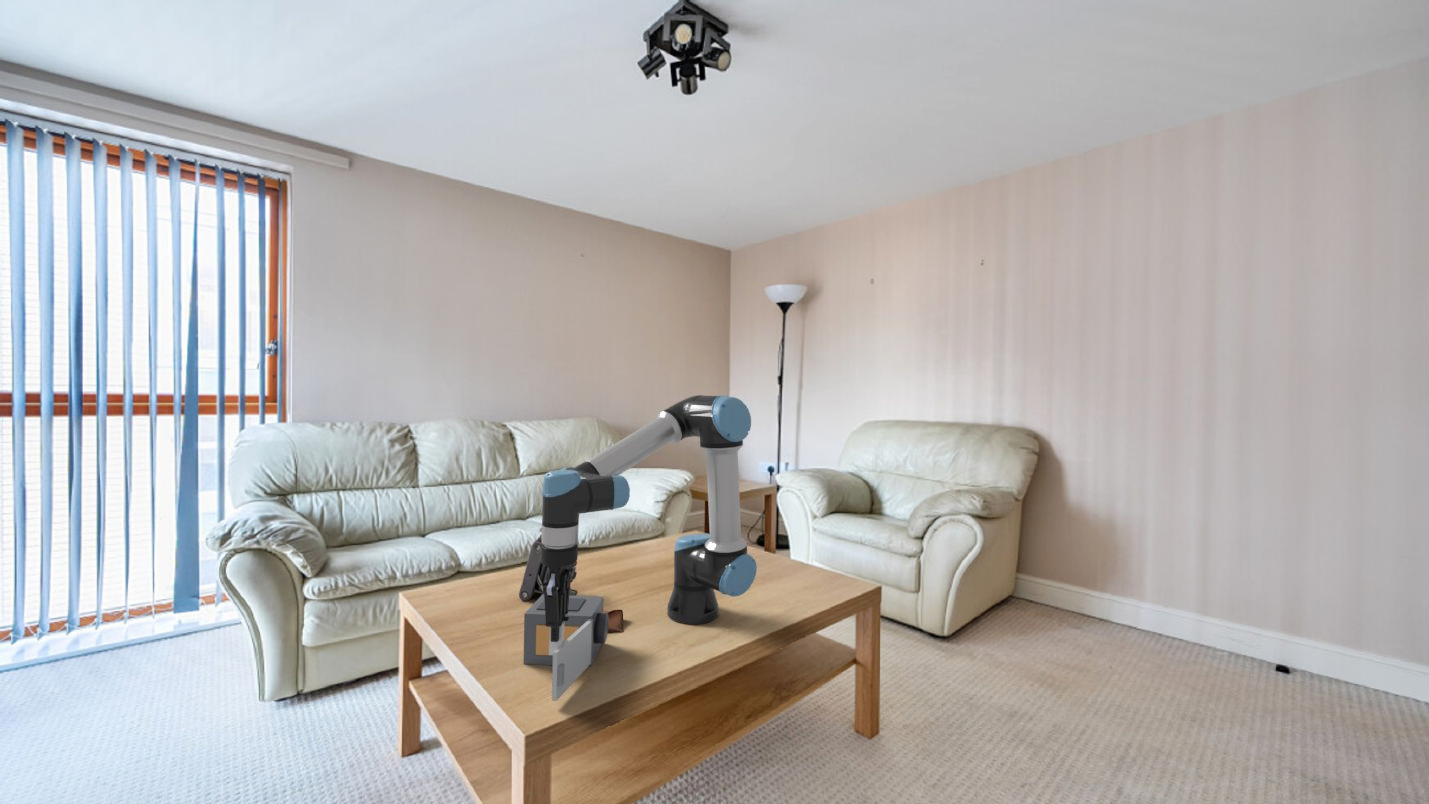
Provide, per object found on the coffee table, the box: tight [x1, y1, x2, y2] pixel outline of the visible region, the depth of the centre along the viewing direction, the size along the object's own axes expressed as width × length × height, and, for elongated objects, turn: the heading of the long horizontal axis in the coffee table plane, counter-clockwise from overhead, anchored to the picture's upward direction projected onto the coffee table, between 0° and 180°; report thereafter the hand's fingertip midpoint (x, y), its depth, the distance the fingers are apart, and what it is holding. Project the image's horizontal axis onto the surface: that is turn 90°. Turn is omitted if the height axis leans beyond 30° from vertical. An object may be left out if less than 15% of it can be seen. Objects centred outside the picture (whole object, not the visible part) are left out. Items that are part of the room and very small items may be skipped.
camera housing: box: [523, 593, 609, 668], centre depth 131 cm, size 18×12×13 cm
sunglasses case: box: [603, 609, 625, 634], centre depth 146 cm, size 18×7×7 cm
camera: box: [518, 533, 578, 602], centre depth 168 cm, size 11×17×20 cm, turn 89°
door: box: [551, 619, 593, 702], centre depth 117 cm, size 17×2×10 cm, turn 167°
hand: (556, 653), depth 113 cm, fingers closed
